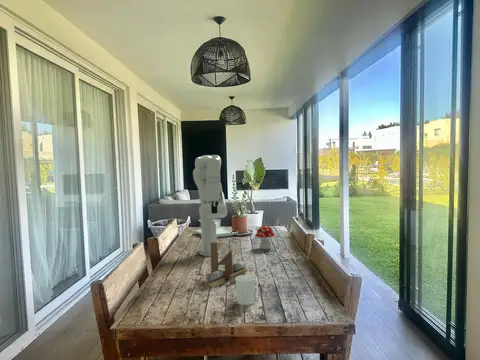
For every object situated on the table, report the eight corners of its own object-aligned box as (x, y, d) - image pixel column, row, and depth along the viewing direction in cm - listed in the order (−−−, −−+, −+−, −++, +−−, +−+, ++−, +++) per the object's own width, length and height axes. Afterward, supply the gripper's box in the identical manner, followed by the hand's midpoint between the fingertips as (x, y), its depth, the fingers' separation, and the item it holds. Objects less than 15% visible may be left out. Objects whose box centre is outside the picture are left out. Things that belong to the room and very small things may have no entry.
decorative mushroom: (251, 250, 225) (251, 227, 225) (258, 245, 238) (258, 223, 237) (272, 252, 220) (272, 228, 219) (278, 246, 233) (278, 224, 232)
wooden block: (232, 279, 171) (231, 243, 170) (210, 279, 171) (209, 243, 170) (232, 276, 175) (231, 241, 174) (211, 277, 175) (210, 241, 174)
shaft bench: (205, 285, 164) (204, 273, 163) (239, 270, 184) (239, 260, 184) (220, 289, 158) (220, 277, 157) (254, 273, 178) (254, 263, 178)
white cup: (235, 298, 146) (234, 275, 146) (254, 297, 147) (253, 274, 146) (236, 306, 139) (236, 281, 138) (256, 305, 139) (255, 280, 139)
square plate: (206, 240, 259) (206, 235, 259) (193, 234, 283) (193, 229, 283) (239, 236, 272) (238, 231, 271) (224, 230, 296) (224, 225, 296)
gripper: (199, 180, 195) (200, 213, 196) (219, 180, 186) (220, 215, 187) (208, 179, 201) (209, 211, 202) (228, 180, 192) (229, 213, 192)
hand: (214, 213), depth 194 cm, fingers closed
